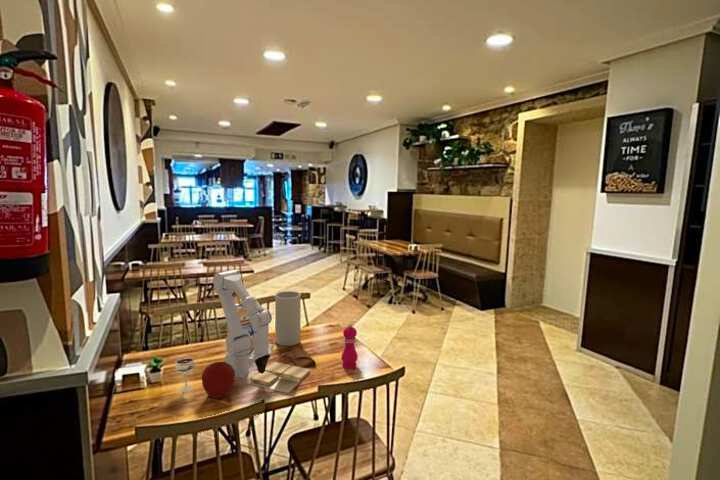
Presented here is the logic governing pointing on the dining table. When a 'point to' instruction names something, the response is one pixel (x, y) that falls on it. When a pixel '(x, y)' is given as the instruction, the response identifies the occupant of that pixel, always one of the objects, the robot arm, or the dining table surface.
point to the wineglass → (185, 370)
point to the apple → (218, 379)
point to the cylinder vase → (288, 318)
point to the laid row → (287, 369)
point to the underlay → (279, 384)
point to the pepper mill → (349, 348)
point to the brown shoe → (300, 358)
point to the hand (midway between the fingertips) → (261, 372)
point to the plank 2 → (286, 376)
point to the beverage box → (245, 321)
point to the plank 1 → (264, 378)
